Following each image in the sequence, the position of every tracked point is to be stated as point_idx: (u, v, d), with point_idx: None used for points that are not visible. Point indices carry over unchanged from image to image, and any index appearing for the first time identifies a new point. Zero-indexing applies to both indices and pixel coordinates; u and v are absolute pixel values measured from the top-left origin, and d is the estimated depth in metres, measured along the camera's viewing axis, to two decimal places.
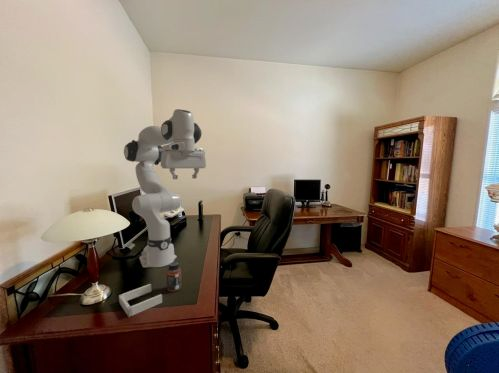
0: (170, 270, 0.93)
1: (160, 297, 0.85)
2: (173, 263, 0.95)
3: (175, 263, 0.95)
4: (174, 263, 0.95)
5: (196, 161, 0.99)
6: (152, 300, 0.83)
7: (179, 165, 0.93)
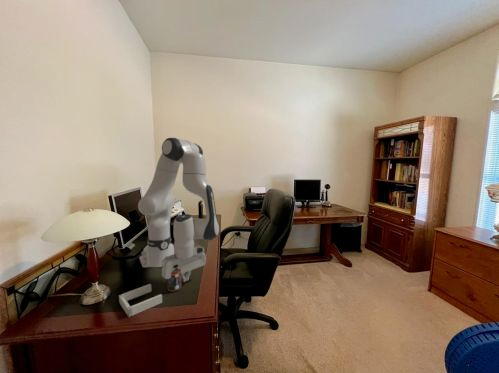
0: None
1: (160, 297, 0.85)
2: None
3: None
4: None
5: None
6: (152, 300, 0.83)
7: None
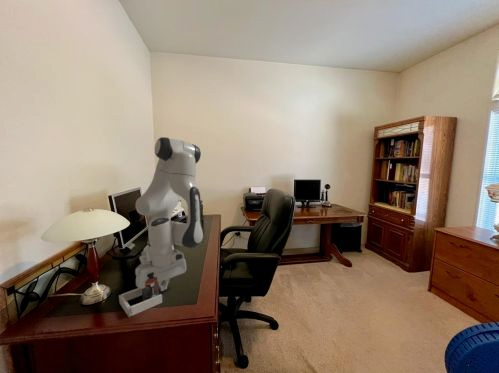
0: None
1: (160, 297, 0.85)
2: None
3: None
4: None
5: None
6: (152, 300, 0.83)
7: None
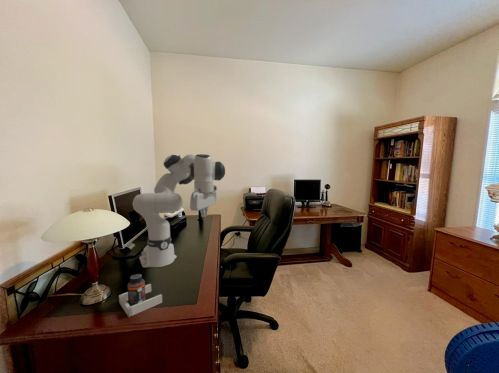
0: (132, 284, 0.82)
1: (160, 297, 0.85)
2: (135, 275, 0.84)
3: (138, 275, 0.84)
4: (136, 276, 0.84)
5: None
6: (152, 300, 0.83)
7: None
